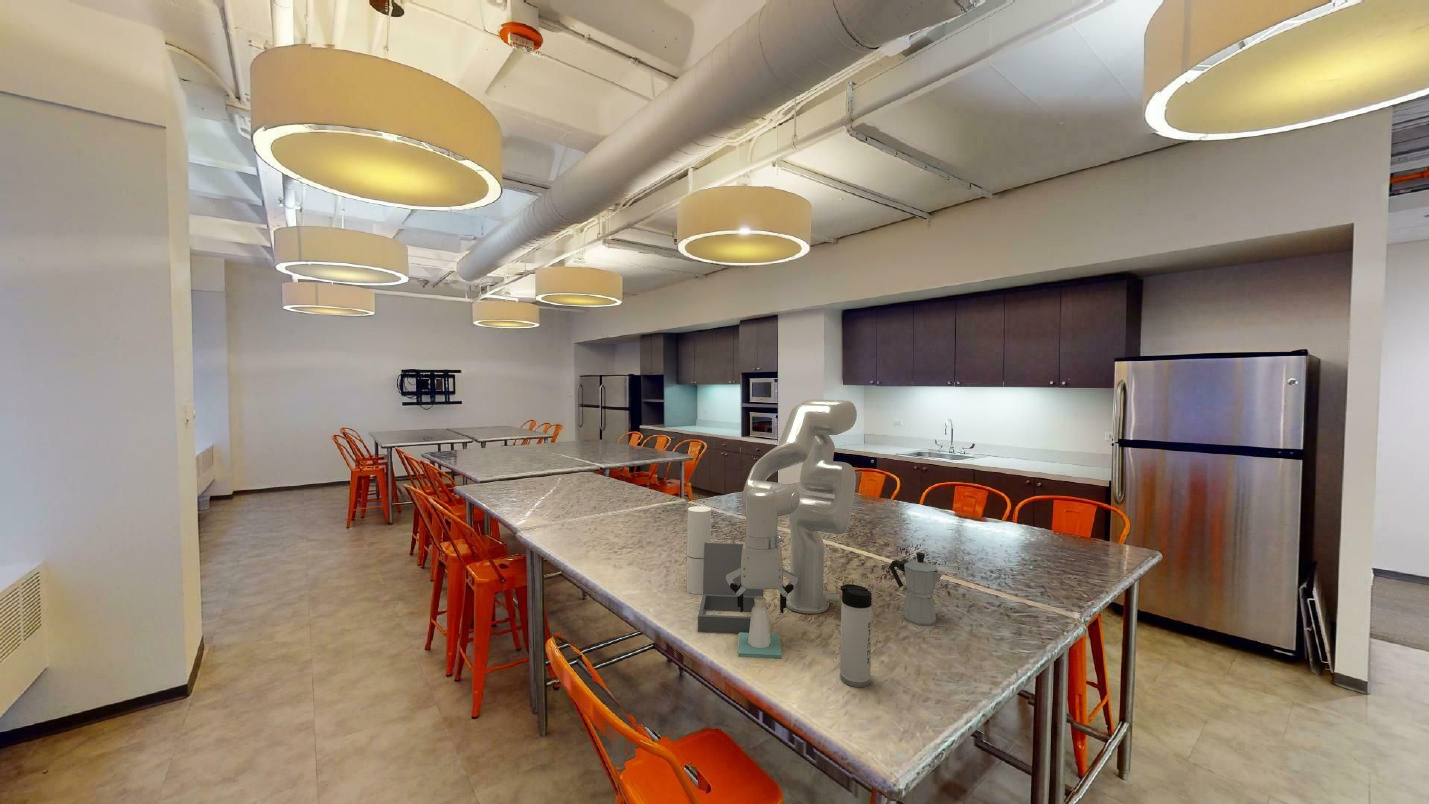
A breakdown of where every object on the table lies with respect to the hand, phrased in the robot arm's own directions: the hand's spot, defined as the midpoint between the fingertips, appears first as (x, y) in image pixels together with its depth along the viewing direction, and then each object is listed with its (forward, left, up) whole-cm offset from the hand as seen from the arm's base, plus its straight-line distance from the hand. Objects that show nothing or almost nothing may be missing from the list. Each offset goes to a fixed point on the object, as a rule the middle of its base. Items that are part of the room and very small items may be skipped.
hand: (761, 610), depth 123 cm
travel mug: (-20, +13, -9) cm, 25 cm away
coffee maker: (-43, -19, -9) cm, 48 cm away
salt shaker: (+1, +1, -8) cm, 8 cm away
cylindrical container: (+18, -32, -9) cm, 38 cm away
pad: (0, +1, -9) cm, 8 cm away
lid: (+7, -20, +2) cm, 22 cm away
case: (+7, -12, -9) cm, 17 cm away
